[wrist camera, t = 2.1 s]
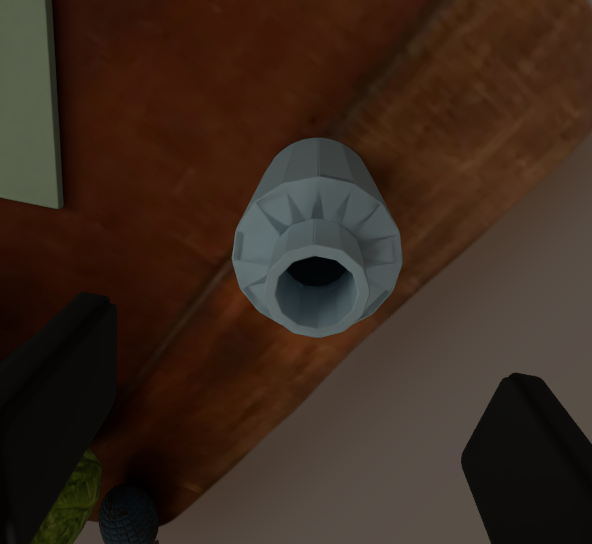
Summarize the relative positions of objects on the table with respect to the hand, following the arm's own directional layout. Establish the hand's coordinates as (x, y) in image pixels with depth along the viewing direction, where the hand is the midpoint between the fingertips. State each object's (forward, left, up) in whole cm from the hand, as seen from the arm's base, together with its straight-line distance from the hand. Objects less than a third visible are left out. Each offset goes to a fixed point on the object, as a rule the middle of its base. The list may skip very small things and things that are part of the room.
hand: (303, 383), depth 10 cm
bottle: (0, 0, -16) cm, 16 cm away
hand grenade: (+26, -10, -14) cm, 31 cm away
